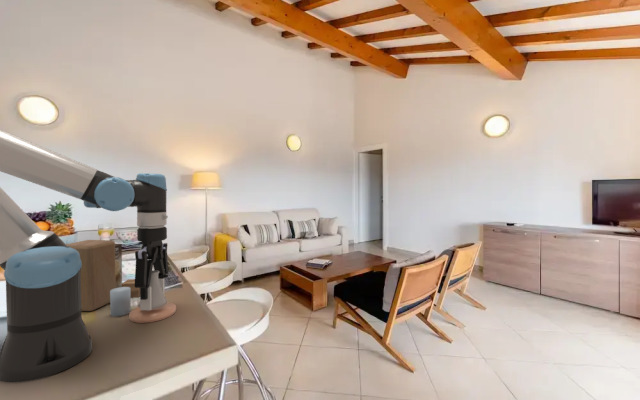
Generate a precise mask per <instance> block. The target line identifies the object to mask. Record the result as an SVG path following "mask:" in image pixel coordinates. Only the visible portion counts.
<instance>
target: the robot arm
mask: <svg viewBox="0 0 640 400" xmlns="http://www.w3.org/2000/svg"><path fill="white" fill-rule="evenodd" d="M0 172H1V173H4V174H7V175H10V176H13V177H16V178H18V179H21V180H24V181H27V182H29V183H32V184H36V185H38V186H41V187H44V188H46V189H49V190H53V191H55V192H59V193H60V194H63V195H67V196H70V197H73V198H75V199H78V200H81V201H83V206H84V207H85V208H90V209H91V208H94V209H101V208H102V209H103V210H106V211H110V212H119V211H122V210H125V209H127V208H134V207H136V209H137V210H136V212H137V213H136V215H137V216H136V220H137V221H136V226H137V227H138V228H137V229H136V231H137V236H136V238H137V239H136V240H137V241H138V242H141V243H142V245H141V250H137V251H135V252H134V256H135V271H134V273H135V274H134V279H135V288H140V296H139V302H140V310H151V309H152V296H151V286H149V285H150V280H151V274H152V271H153V270H158V271H159V273H158V279H159V283H160V286H161V288H162V291H163V293H164V295H165V279H168V277H169V263H168V262H169V261H168V243H167V242H163V241H165V240H166V239H167V238H168V234H167V232H168V230H167V229H168V228H167V227H166V225H167V220H168V215H167V190H168V189H167V178H166V177H165V175H164V174H162V173H150V172H149V173H143V172H141V173H137V175H136V178H135V179H130V180H129V179H127V180H126V179H124V178H121V177H117V176H114V175H112V174H109V173H106V172H104V171H101V170H98V169H97V168H94V167H93V166H90V165H87V164H84V163H82V162H80V161H77V160H75V159H72V158H70V157H68V156H65V155H62V154H60V153H58V152H55V151H52V150H51V149H49V148H46V147H43V146H41V145H39V144H37V143H33V142H32V141H29V140H26V139H24V138H21V137H19V136H16V135H14V134H12V133H9V132H7V131H5V130H3V129H0ZM66 244H67V243H65V242H64V241H63V240H62V239H61V238H60V237H59V236H58V235H57V234H56V233H55V232H54V231H52V230H51V231H50V230H43V229H41V227H39V226H38V224H37V223H35V222H34V221H33V220H32V218H31V217H30V216H29V215H28V214H27V213H26V212H25V211H24V210H23V209H22V208H21V207H20V206H19V205H18V204H17V203H16V202H15V201H14V200H13V199H12V198H11V196H10V195H8V194H7V193H6V191H5V190H4V189H3V188H2V187H1V186H0V268H1V269H2V270H4V271H3V277H4V278H5V293H6V294H5V295H6V297H5V299H6V300H5V302H6V304H5V305H6V336H5V339H4V341H3V344H2V345H1V349H0V382H4V383H22V382H28V381H29V382H30V381H33V380H34V381H35V380H38V379H39V380H40V379H43V378H46V377H49V376H51V375H54V374H55V375H56V374H57V373H60V372H63V371H65V370H67V369H70V368H72V367H73V366H75V365H77V364H79V363H81V362H82V361H83V360H85V359H86V358H87V357H88V356H89V355H90V354H91V353H92V350H93V342H92V341H93V339H92V337H91V336H90V334H89V332H88V329H87V327H86V324H85V322H84V320H83V317H82V311H81V268H82V262H81V259H80V254H79V252H78V251H77V250H75V249H73V248H71V247H69V246H67V245H66Z"/></svg>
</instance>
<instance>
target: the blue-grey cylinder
mask: <svg viewBox="0 0 640 400" xmlns="http://www.w3.org/2000/svg"><path fill="white" fill-rule="evenodd" d="M109 304H110V307H109V308H110V313H109V314H110V316H111V317H122V316H125V315H128V314H129V313H130V312H131V311H132V310H131V309H132V308H131V307H132V305H131V304H132V301H131V292H130V287H122V286H120V287H118V288H115V289H112V290H110V303H109Z"/></svg>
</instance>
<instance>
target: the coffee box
mask: <svg viewBox="0 0 640 400" xmlns="http://www.w3.org/2000/svg"><path fill="white" fill-rule="evenodd" d="M122 246H123V244H122V243H115V276H116V288H119V287H122V283H123V253H122V252H123V247H122Z"/></svg>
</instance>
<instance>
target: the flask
mask: <svg viewBox="0 0 640 400" xmlns="http://www.w3.org/2000/svg"><path fill="white" fill-rule="evenodd" d="M158 273H159V271H158V270H154V269H152V274H151V280H150V285H149V286H151V296H152V309H155V308H158V307H161V306H164V305H165V304H166V303H169V301H168V300H167V298H166V296H165V295H164V293H163V291H162V288H161V286H160V283H159V279H158ZM137 307H140V301H139V303H138V305H137Z"/></svg>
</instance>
